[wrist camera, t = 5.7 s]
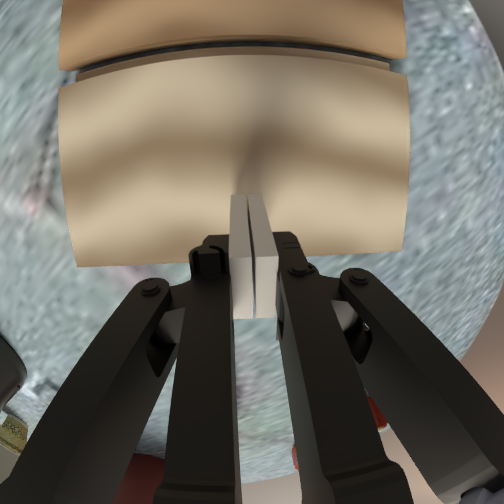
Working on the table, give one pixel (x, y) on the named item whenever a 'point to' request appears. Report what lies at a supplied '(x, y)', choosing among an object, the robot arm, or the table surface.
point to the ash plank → (233, 152)
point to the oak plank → (225, 26)
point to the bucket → (140, 480)
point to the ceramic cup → (13, 434)
